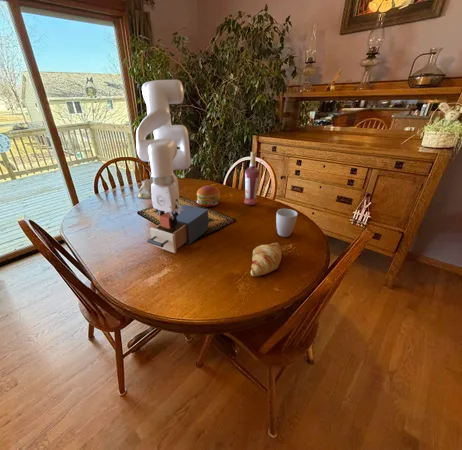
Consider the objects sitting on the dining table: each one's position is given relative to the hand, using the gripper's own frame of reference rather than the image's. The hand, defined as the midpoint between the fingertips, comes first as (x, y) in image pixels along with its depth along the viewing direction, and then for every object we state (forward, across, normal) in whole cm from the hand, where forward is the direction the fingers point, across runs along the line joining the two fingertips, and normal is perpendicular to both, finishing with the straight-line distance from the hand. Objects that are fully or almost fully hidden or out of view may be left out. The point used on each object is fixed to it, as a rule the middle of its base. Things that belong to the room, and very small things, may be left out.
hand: (169, 224), depth 92 cm
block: (0, 0, 0) cm, 0 cm away
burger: (+10, -9, +44) cm, 46 cm away
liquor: (+10, +12, +54) cm, 56 cm away
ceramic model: (+10, -50, +39) cm, 64 cm away
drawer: (+9, 0, 0) cm, 9 cm away
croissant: (+10, +37, +8) cm, 39 cm away
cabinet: (+10, 0, +12) cm, 15 cm away
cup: (+10, +37, +31) cm, 49 cm away
